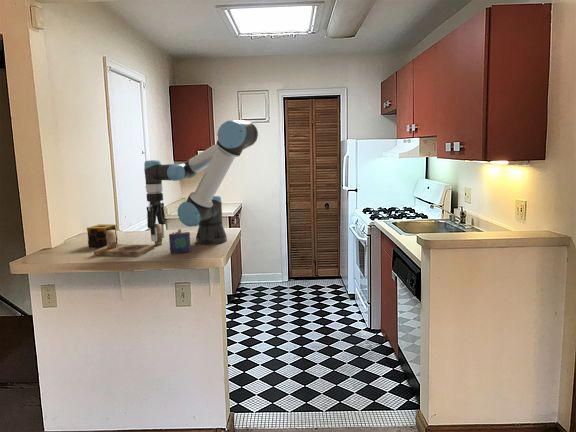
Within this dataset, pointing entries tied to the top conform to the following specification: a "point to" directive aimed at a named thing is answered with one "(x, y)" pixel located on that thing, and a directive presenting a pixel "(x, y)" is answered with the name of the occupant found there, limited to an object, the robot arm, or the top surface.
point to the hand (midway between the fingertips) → (158, 239)
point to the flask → (179, 242)
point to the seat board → (121, 247)
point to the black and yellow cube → (99, 235)
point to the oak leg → (158, 234)
